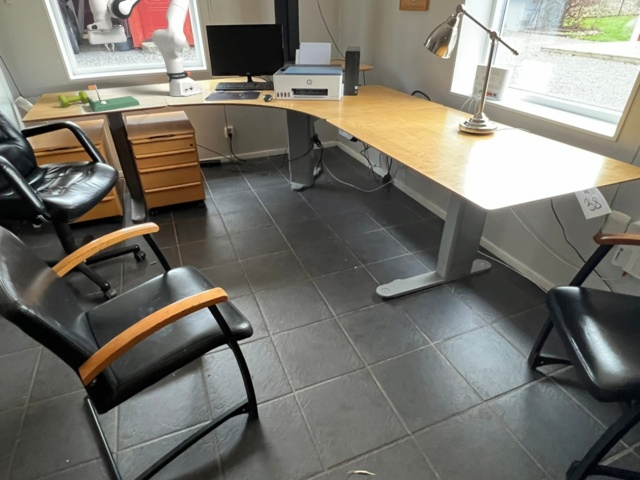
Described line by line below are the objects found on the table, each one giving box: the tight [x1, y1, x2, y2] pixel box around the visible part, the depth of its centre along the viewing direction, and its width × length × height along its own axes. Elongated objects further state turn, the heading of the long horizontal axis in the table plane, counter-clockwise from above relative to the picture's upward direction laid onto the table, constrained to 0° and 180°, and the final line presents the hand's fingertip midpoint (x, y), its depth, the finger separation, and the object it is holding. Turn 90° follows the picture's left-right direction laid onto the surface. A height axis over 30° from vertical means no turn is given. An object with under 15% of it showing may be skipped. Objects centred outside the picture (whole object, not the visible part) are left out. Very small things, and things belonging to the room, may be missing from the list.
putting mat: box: [87, 84, 140, 113], centre depth 234 cm, size 25×18×12 cm
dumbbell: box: [57, 90, 89, 109], centre depth 239 cm, size 16×8×7 cm, turn 141°
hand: (111, 51), depth 229 cm, fingers closed
